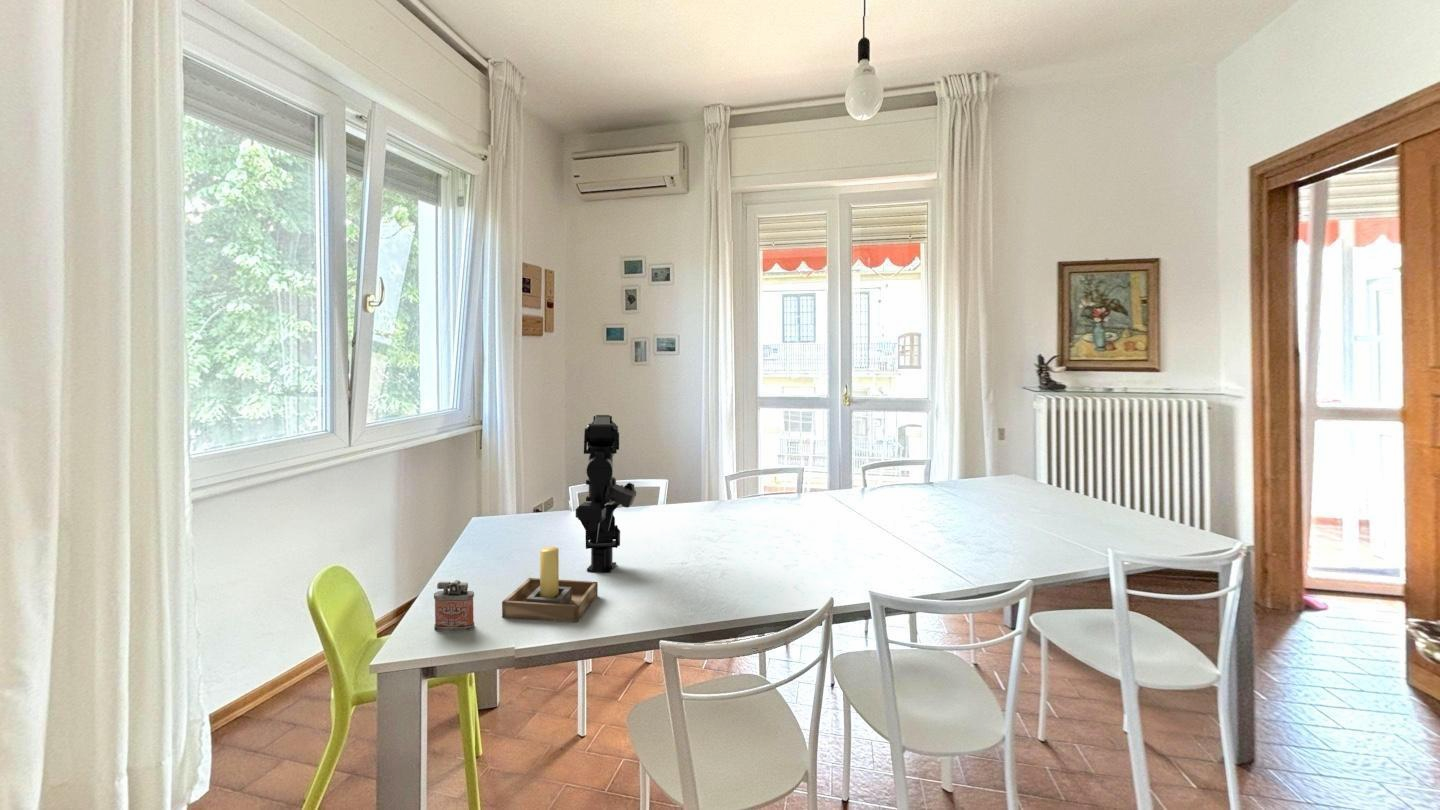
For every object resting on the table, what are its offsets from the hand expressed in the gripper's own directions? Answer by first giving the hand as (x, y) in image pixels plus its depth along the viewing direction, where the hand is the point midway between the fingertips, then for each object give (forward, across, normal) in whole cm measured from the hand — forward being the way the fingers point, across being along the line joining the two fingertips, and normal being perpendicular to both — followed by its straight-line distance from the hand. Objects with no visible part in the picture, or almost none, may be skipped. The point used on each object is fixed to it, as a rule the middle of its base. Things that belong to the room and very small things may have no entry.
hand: (600, 537), depth 142 cm
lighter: (+14, -24, +24) cm, 36 cm away
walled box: (+13, -11, +8) cm, 19 cm away
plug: (+12, -12, +8) cm, 19 cm away
